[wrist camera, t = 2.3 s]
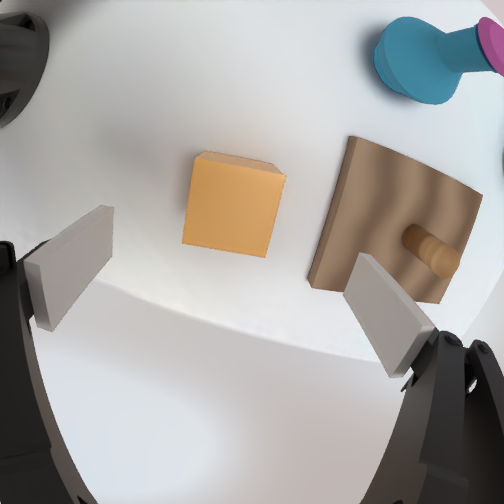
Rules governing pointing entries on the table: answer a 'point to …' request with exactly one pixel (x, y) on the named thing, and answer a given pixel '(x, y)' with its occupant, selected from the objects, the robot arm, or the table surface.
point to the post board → (394, 222)
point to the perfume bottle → (436, 57)
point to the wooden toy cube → (232, 204)
